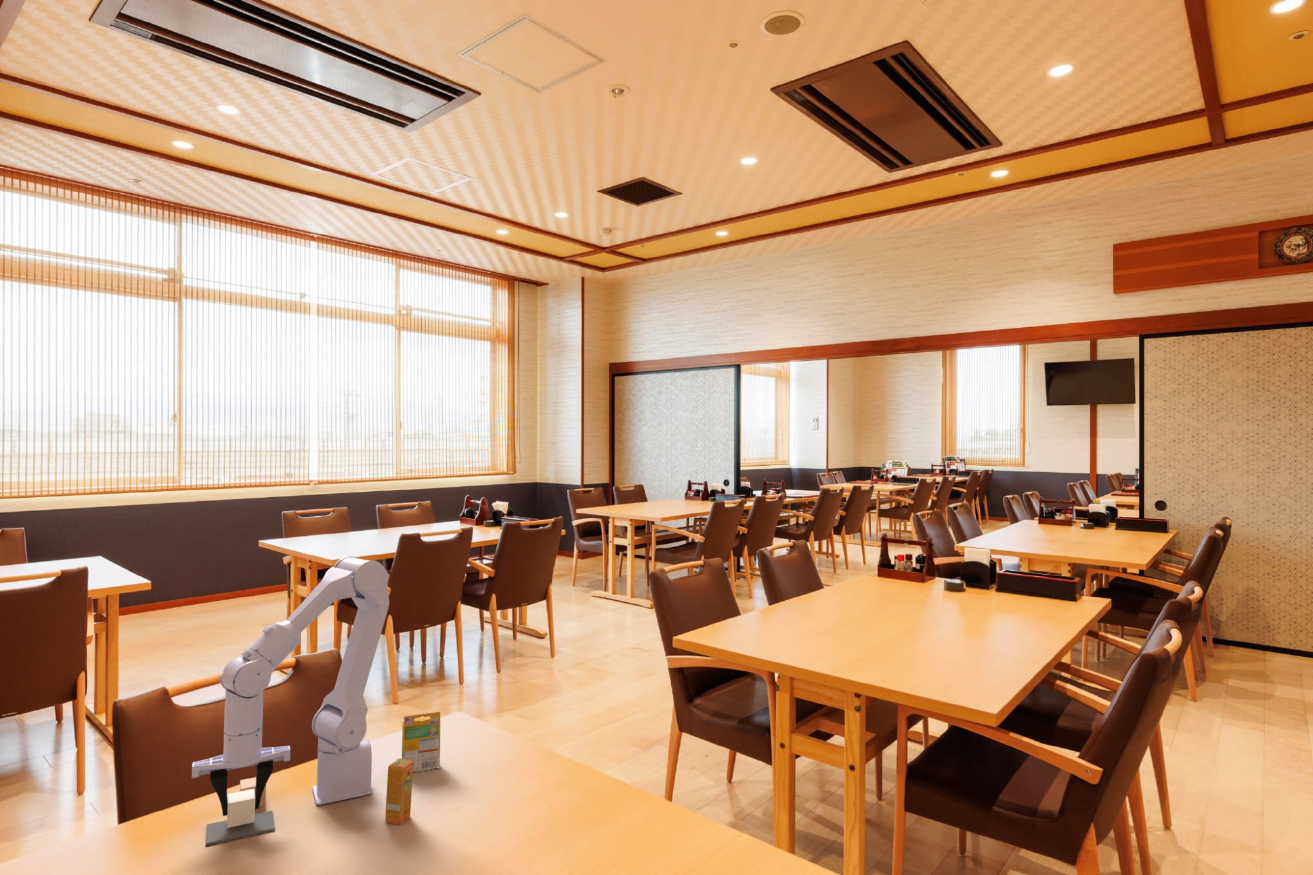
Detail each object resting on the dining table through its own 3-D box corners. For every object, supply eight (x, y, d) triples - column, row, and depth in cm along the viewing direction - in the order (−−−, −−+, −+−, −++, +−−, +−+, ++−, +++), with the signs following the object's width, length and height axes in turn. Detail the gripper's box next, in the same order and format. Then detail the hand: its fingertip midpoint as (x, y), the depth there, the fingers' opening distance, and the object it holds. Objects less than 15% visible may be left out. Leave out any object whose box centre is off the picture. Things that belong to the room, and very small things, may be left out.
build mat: (272, 812, 128) (272, 810, 128) (274, 830, 122) (274, 828, 122) (206, 826, 123) (206, 824, 123) (205, 846, 117) (205, 843, 117)
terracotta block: (264, 796, 134) (264, 775, 134) (265, 806, 131) (266, 784, 131) (239, 802, 132) (240, 780, 132) (240, 811, 128) (240, 789, 129)
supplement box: (402, 825, 124) (403, 767, 124) (384, 823, 125) (385, 765, 125) (412, 816, 127) (414, 759, 128) (395, 814, 128) (396, 757, 128)
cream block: (254, 821, 122) (255, 798, 122) (227, 827, 120) (227, 803, 120) (253, 811, 125) (254, 788, 125) (227, 817, 123) (227, 793, 123)
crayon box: (438, 763, 149) (439, 707, 150) (439, 769, 147) (441, 711, 147) (401, 768, 146) (402, 711, 147) (402, 774, 144) (403, 716, 144)
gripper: (289, 714, 130) (286, 790, 130) (194, 729, 123) (191, 809, 122) (292, 727, 124) (289, 807, 124) (192, 744, 117) (189, 828, 116)
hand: (241, 809), depth 123 cm, fingers closed on cream block, 4 cm apart
